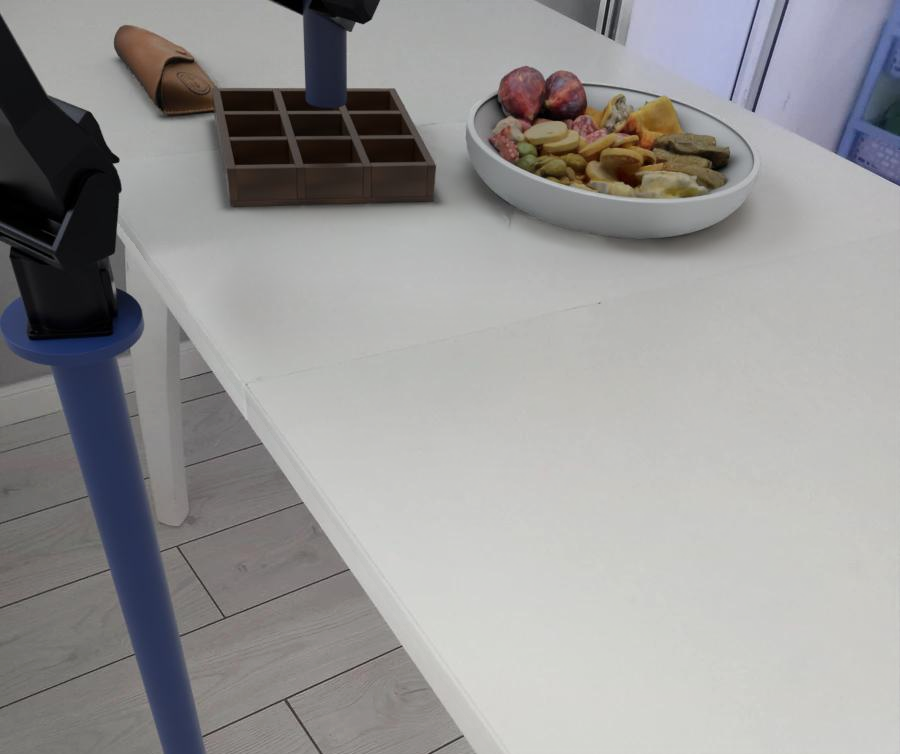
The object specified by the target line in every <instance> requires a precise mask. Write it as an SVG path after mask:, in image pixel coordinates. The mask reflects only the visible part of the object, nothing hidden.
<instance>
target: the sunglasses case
mask: <svg viewBox="0 0 900 754" xmlns="http://www.w3.org/2000/svg"><path fill="white" fill-rule="evenodd" d="M113 49H114V51H115V52H116V55H117V57H119V59H120V60H121V61H122V63H124V64H125V66H126V67H127V68H128V70H129V71H130V72H131V73H132V75H133V76H134V77H135V79H136V80H137V81H138V83H139V84H140V86H141V87H142V89H143V90H144V91H145V93H146V94H147V96H148V98H149V99H150V100H151V102H152V103H153V105H155V106H156V107H157V108H158V109H159V110H160V111H161V112H162V113H163V114H165V115H166V116H175V115H176V116H185V115H186V116H187V115H197V114H198V115H199V114H204V113H208V112H214V107H213V97H212V88H218V87H217V86H216V84H215V83H214V82H213V81H212V79H211V78H210V77H209V76H208V74H207V73H206V72H205V71H204V70H203V69H202V67H201V66H200V65H199V64H198V63H197V61H196V59H195V57H194V56H193V55H192V54H191V52H189V51H188V50H187V49H186V48H184V47H182V46H181V45H179V44H178V45H177V44H176V43H173V41H170V40H169V39H166V38H165V37H163V36H161V35H159V34H157V33H155V32H154V31H153V32H152V31H150V30H148V29H145V28H142V27H139V26H136V25H132V24H123V25H121V26H119V27H118V29H117V30H116V32H115V33H114V38H113Z"/></svg>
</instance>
